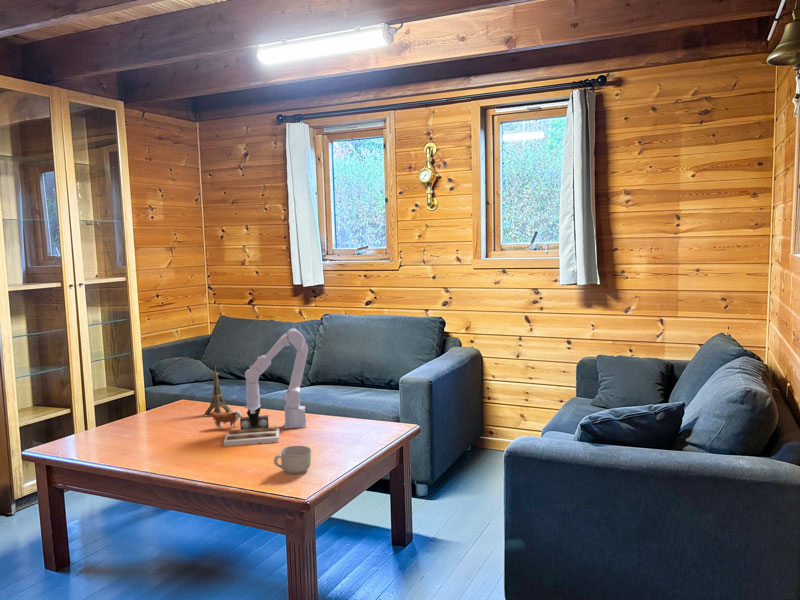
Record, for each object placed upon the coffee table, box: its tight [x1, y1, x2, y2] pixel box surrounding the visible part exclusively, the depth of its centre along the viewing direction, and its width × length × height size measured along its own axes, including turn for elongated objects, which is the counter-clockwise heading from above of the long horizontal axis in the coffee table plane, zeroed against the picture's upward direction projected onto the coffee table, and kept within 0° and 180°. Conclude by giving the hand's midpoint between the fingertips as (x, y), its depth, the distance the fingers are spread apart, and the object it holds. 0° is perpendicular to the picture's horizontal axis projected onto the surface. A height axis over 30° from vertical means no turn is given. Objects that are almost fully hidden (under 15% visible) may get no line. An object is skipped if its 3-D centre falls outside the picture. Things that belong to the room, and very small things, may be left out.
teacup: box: [273, 445, 312, 475], centre depth 224 cm, size 14×11×8 cm
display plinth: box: [223, 426, 280, 447], centre depth 265 cm, size 22×14×3 cm, turn 99°
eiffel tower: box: [203, 364, 233, 417], centre depth 309 cm, size 11×11×25 cm
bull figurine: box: [212, 409, 243, 430], centre depth 284 cm, size 4×13×8 cm, turn 89°
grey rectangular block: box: [239, 414, 270, 430], centre depth 279 cm, size 12×3×6 cm, turn 99°
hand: (254, 425), depth 279 cm, fingers closed on grey rectangular block, 3 cm apart
